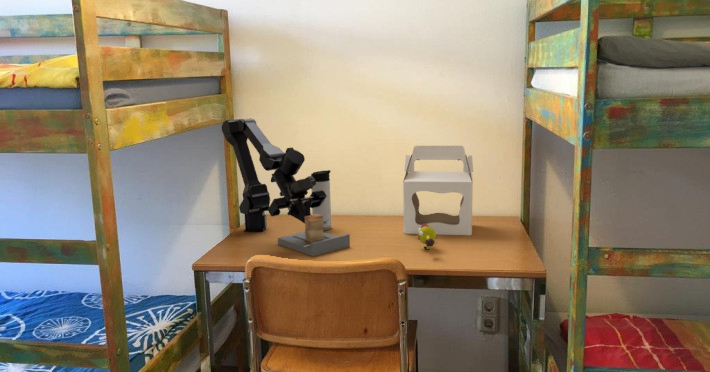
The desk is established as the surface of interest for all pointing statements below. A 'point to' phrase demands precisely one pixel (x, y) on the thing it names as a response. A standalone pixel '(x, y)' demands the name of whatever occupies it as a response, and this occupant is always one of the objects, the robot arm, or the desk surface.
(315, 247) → the console
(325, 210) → the travel mug
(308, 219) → the block
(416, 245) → the desk surface
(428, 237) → the toy figure
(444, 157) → the gable box
